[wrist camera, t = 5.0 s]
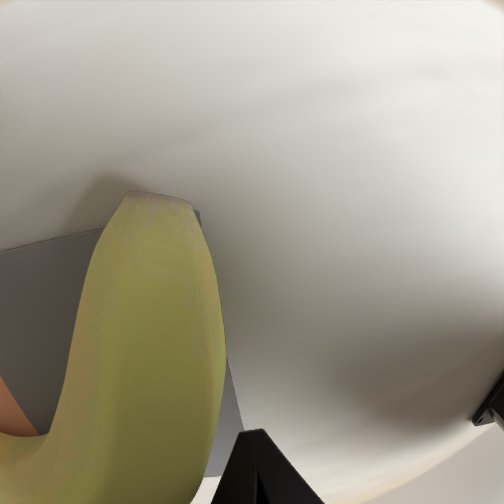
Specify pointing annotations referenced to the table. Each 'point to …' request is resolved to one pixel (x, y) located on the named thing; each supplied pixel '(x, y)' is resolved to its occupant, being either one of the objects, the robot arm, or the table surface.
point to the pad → (13, 415)
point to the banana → (133, 371)
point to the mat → (65, 333)
